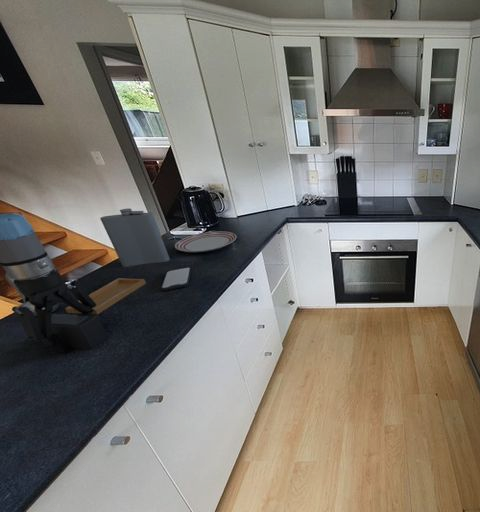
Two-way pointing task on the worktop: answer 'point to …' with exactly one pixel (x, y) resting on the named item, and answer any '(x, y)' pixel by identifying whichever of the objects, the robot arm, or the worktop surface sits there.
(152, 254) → the flask
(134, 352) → the worktop surface
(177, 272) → the phone case
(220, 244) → the dinner plate
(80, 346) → the gadget
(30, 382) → the worktop surface
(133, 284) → the tray
